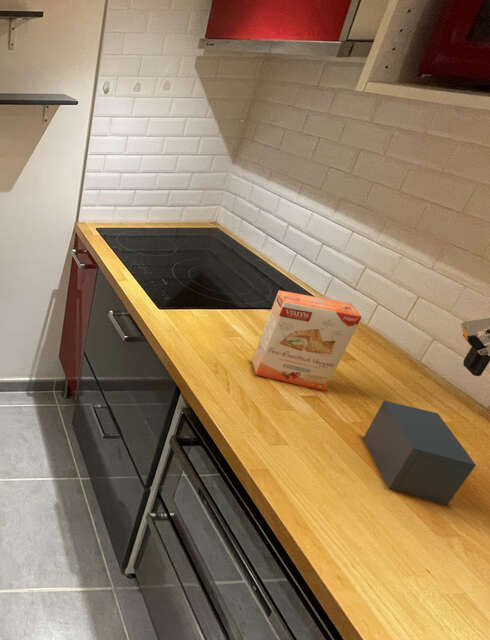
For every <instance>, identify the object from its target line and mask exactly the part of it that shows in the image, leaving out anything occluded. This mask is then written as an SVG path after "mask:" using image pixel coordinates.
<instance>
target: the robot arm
mask: <svg viewBox="0 0 490 640" xmlns="http://www.w3.org/2000/svg"><path fill="white" fill-rule="evenodd" d="M460 326H461V329H462V333H463V334H462V336H463V338H464V339H465V340H466V342H467V343H468V345H469V346H470V349H469V350H468V352H467V353H466V356H465V357H464V359H463V361H462V362H463V367H464V368H465V369H467V370H468V371H469V373H470V374H471V375H472V376H474V377H480V376H482V374H483V373H484V372H485V370H486V368H487V367H488V365H489V363H490V317H488V318H481V319H474V320H468V321H463V322H461V324H460ZM481 331H484V334H482V335H479V332H481ZM478 335H479V336H478Z"/></svg>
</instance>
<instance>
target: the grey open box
mask: <svg viewBox="0 0 490 640" xmlns="http://www.w3.org/2000/svg"><path fill="white" fill-rule="evenodd" d="M363 440H364V443H365V445H366V446H367V449H368V450H369V452H370V454H371V456H372V459H373V460H374V462H375V464H376V466H377V468H378V470H379V473H380V474H381V476H382V478H383V480H384V482H385V484H386V486H387V488H388V489H389V490H393V491H396V492H399V493H402V494H407V495H410V496H413V497H417V498H420V499H424V500H427V501H431V502H434V503H437V504H441V505H444V506H448V505H449V503H450V502H451V501H452V499H454V497H455V495H456V494H457V493H458V491H459V490H460V489H461V487H462V485H463V484H464V483H465V482H466V480H467V478H468V477H469V476H470V474H471V473H472V472H473V470H474V468H475V467H476V466H477V465H476V463H475V462H474V460H473V458H472V457H471V456H470V455H469V454H468V452H467V451H466V450H465V448H464V447H463V445H462V444H461V443H460V441H459V439H457V437H456V436H455V434H453V432H452V430H451V429H450V428H449V426H448V425H447V423H446V422H445V421H444V420H443V418H442V417H441V415H440V414H439V413H438V412H434V411H430V410H426V409H422V408H418V407H413V406H409V405H405V404H402V403H401V404H400V403H396V402H392V401H388V400H385V399H384V400H383V401H382V403H381V405H380V407H379V409H378V410H377V411H376V414H375V416H374V417H373V420H372V422H371V423H370V425H369V426H368V429H367V430H366V432H365V434H364V435H363Z"/></svg>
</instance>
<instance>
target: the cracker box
mask: <svg viewBox="0 0 490 640" xmlns="http://www.w3.org/2000/svg"><path fill="white" fill-rule="evenodd" d="M361 320H362V315H361V314H360V313H359V311H358V310H357V309H356V308H355V306H354V305H353V303H352V302H347V301H341V300H335V299H329V298H324V297H319V296H313V295H308V294H303V293H297V292H290V291H285V290H278V292H277V294H276V297H275V299H274V301H273V303H272V307H271V309H270V311H269V315H268V317H267V321H266V323H265V325H264V327H263V330H262V333H261V336H260V338H259V341H258V343H257V346H256V349H255V351H254V354H253V356H252V359H251V364H252V366H253V369H254V373H255V376H258V377H259V376H260V377H264V378H268V379H273V380H276V381H281V382H284V383H289V384H293V385H297V386H302V387H306V388H310V389H315V390H317V391H318V390H319V391H322V392H325V391H326V390H327V388H328V387H329V384H330V382H331V380H332V378H333V377H334V374H335V371H336V369H337V367H338V366H339V363H340V362H341V360H342V358H343V356H344V354H345V351H346V350H347V348H348V345H349V344H350V341H351V340H352V338H353V335H354V333H355V331H356V329H357V327H358V325H359V323H360V321H361Z"/></svg>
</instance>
